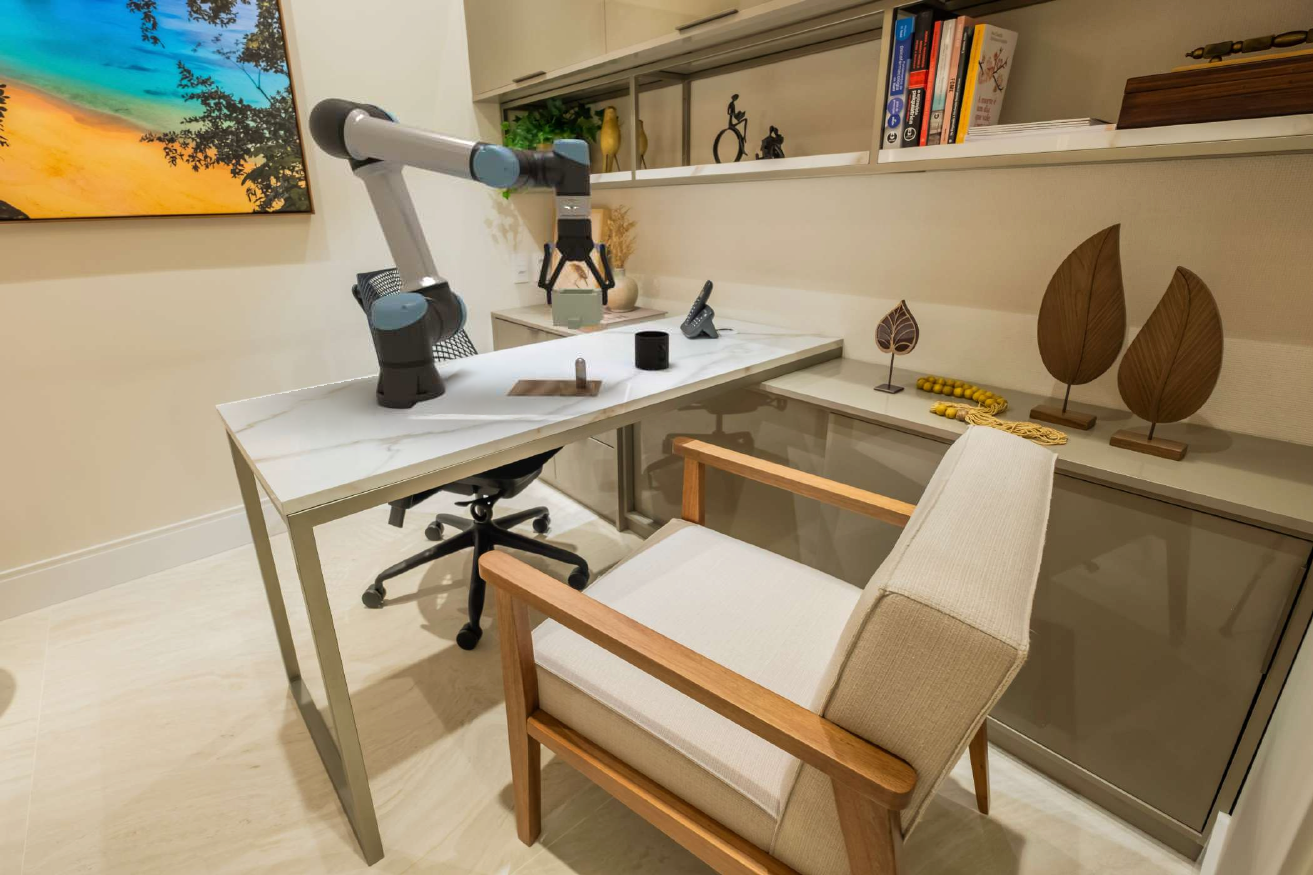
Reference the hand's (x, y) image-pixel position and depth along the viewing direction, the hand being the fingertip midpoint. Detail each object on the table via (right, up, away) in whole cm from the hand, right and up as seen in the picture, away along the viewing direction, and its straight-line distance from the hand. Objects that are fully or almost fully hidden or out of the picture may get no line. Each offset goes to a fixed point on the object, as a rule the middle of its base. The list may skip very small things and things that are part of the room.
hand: (578, 319), depth 145 cm
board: (-6, -17, +6) cm, 19 cm away
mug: (+18, -8, +29) cm, 35 cm away
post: (0, -15, +6) cm, 16 cm away
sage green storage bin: (0, -1, -1) cm, 2 cm away
